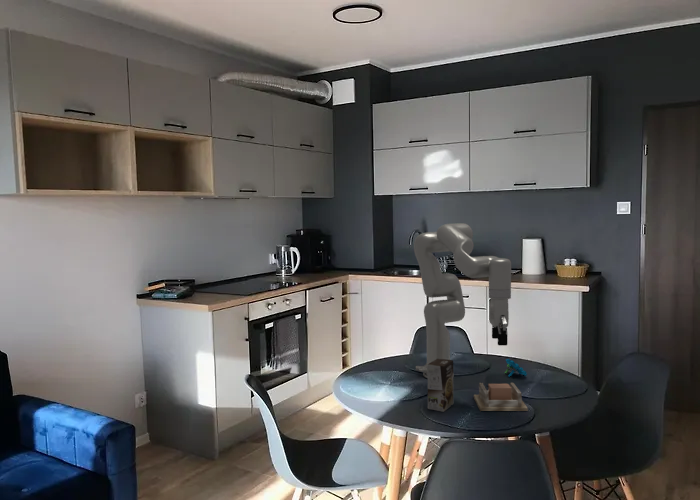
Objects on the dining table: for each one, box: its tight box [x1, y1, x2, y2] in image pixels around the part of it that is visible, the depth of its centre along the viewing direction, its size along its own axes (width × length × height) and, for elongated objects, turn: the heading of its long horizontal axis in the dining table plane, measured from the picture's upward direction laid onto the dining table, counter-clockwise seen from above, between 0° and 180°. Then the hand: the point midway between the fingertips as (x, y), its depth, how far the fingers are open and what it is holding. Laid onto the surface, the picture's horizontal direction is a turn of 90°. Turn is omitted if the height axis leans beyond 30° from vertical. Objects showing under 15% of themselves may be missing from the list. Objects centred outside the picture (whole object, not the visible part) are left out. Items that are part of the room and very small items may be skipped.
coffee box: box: [427, 359, 454, 413], centre depth 200 cm, size 9×6×16 cm
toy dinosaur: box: [504, 358, 528, 378], centre depth 234 cm, size 11×6×10 cm
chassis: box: [473, 382, 529, 412], centre depth 202 cm, size 16×14×6 cm
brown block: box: [487, 383, 511, 400], centre depth 202 cm, size 7×5×6 cm
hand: (499, 341), depth 200 cm, fingers open, 9 cm apart
